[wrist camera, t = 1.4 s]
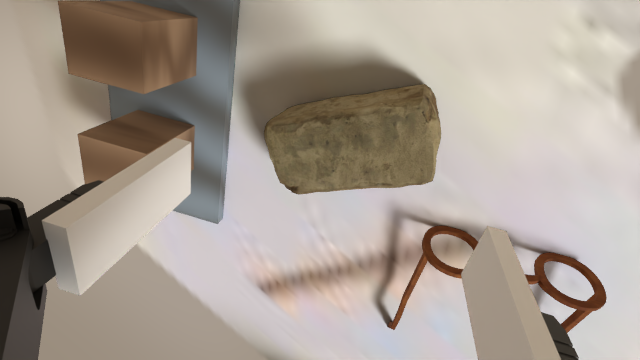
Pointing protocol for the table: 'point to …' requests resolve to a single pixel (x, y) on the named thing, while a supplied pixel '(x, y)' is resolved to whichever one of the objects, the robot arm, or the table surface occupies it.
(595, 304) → the glasses
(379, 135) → the stone block
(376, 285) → the table surface
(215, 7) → the bridge base
